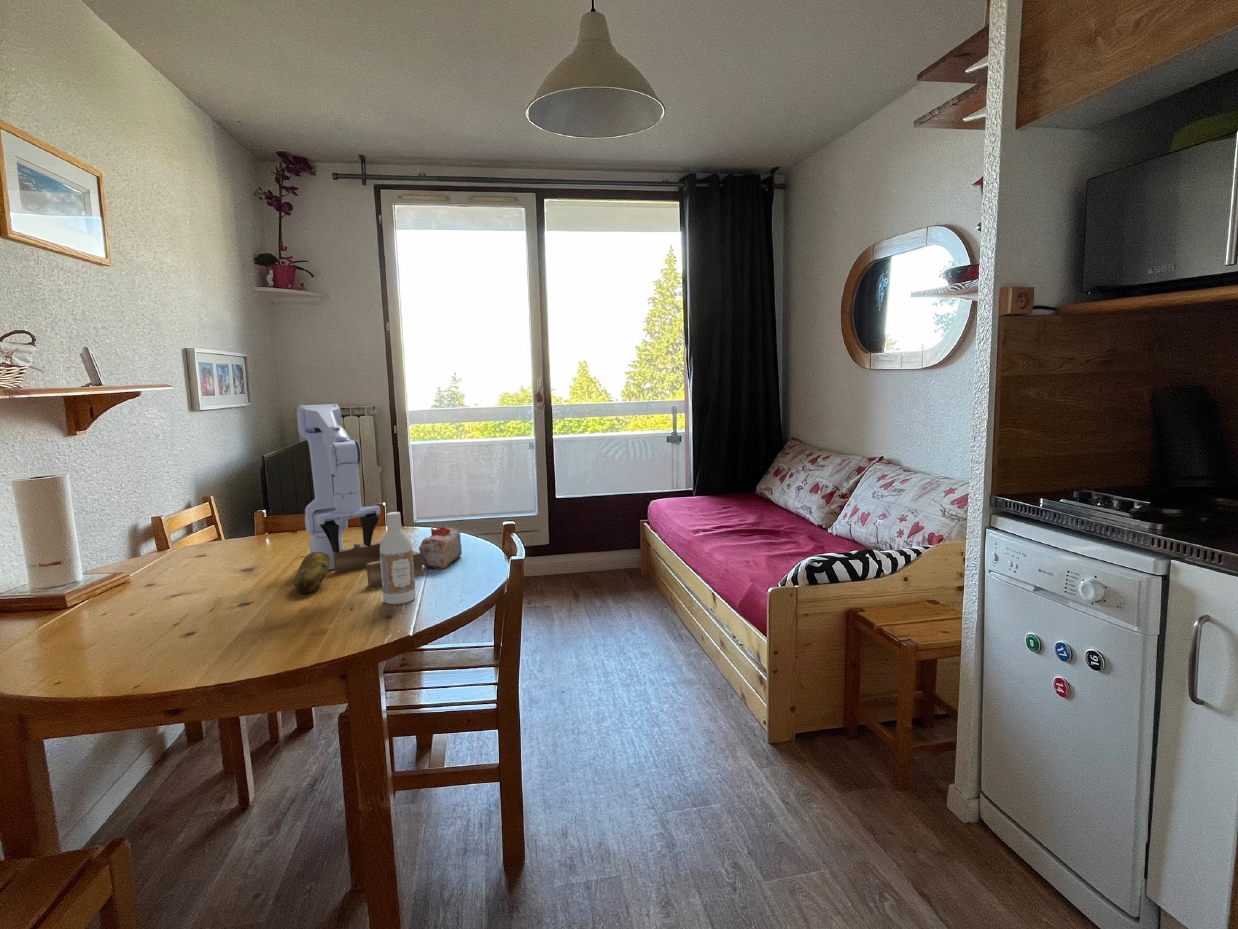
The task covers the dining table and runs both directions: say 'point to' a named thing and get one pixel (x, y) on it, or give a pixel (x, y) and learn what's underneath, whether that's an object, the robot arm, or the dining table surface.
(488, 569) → the dining table surface
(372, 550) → the cradle
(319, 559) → the potato
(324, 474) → the robot arm
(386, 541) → the bath foam
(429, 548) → the food item
